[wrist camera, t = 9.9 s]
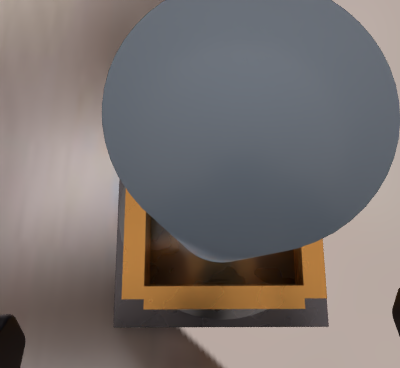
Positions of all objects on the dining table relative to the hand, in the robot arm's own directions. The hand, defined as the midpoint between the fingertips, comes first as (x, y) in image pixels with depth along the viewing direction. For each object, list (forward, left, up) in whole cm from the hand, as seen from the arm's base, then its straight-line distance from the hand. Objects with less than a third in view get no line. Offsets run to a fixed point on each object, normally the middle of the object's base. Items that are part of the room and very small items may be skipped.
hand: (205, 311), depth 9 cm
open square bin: (+3, -1, -12) cm, 13 cm away
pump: (+3, -1, -8) cm, 9 cm away
